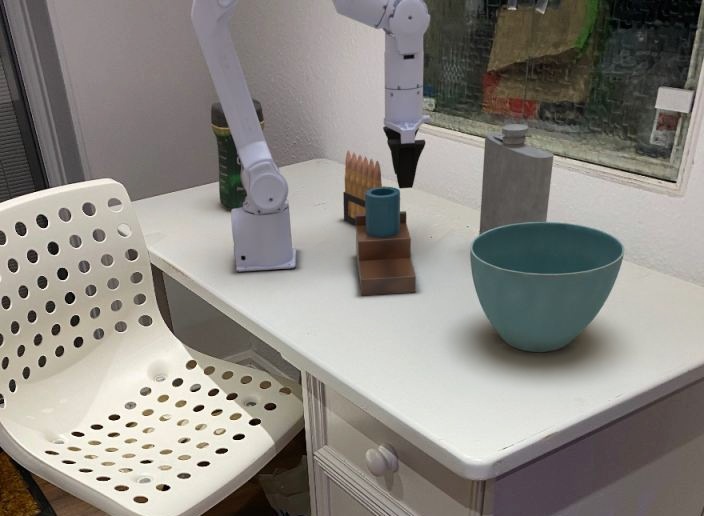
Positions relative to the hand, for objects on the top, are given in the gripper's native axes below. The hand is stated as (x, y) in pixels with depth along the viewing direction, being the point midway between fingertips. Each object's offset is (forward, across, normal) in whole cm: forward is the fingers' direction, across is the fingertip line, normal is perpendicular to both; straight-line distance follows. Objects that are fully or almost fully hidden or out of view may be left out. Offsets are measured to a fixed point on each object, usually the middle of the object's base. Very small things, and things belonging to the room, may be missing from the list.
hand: (403, 180), depth 130 cm
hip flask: (+11, -11, -15) cm, 21 cm away
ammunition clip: (+11, +10, +6) cm, 16 cm away
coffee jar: (+11, +27, +28) cm, 40 cm away
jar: (+5, -9, +4) cm, 11 cm away
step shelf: (+10, -12, +4) cm, 17 cm away
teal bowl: (+11, -37, -14) cm, 41 cm away
